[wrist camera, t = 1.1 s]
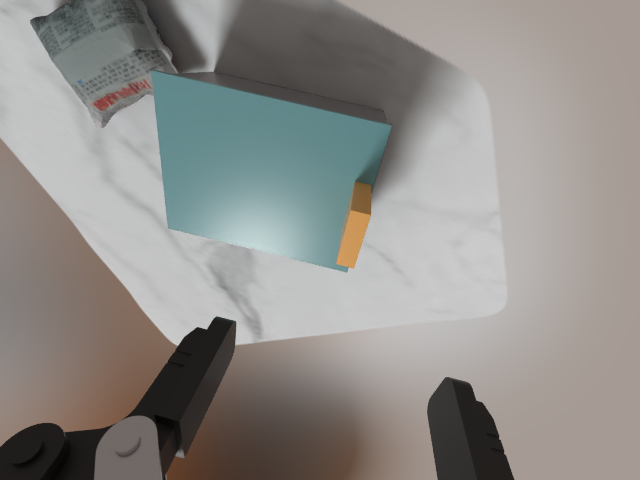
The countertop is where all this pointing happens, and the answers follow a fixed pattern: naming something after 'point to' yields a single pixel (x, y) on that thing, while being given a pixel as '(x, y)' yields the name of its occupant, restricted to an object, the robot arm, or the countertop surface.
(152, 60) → the packaged food
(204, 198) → the lid
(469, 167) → the countertop surface
